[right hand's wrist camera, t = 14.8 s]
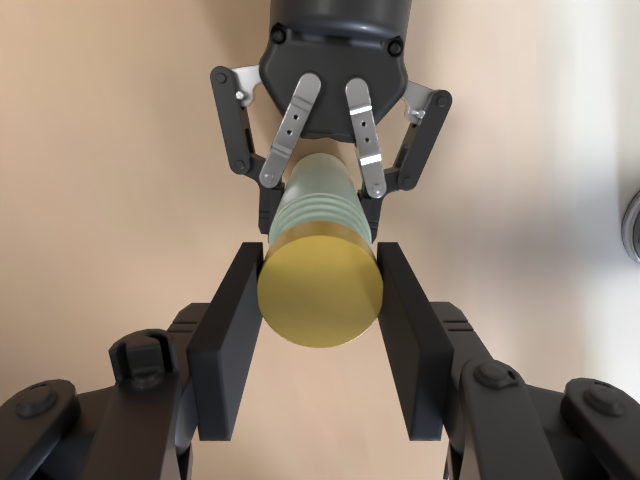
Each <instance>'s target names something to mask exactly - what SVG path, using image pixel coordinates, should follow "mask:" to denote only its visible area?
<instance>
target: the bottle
mask: <svg viewBox="0 0 640 480" xmlns="http://www.w3.org/2000/svg"><path fill="white" fill-rule="evenodd" d="M311 221H330V222H335V223H339V224H341V225H344V226H347V227H348V228H350V229H352V230H354V231H355V232H356V233H358V234H359V235H360V236H361V237H362V238H363V239H364V240H365V241H366V242H367V243H368V245H369V246H370V248H371V240H372V239H371V231H370V227H369V224H368V222H367V219H366V217H365V214H364V211H363V209H362V206H361V204H360V201H359V198H358V196H357V193H356V191H355V188H354V186H353V183H352V180H351V178H350V175H349V173H348V170H347V168H346V167H345V165H344V164H343V163H342V162H341V161H340V160H339V159H338V158H336V157H335V156H332V155H330V154H326V153H314V154H310V155H308V156H306V157H304V158H302V159H301V160H300V161H299V162H298V163H297V164H296V165H295V167H294V168H293V170H292V173H291V175H290V178H289V180H288V183H287V186H286V188H285V191H284V194H283V196H282V199H281V201H280V204H279V207H278V209H277V212H276V214H275V217H274V220H273V222H272V225H271V228H270V232H269V248H270V246H271V245H272V244H273V242H274V241H275V240H276V239H277V238H278V237H279V236H280V235H281V234H283V233H284V232H285V231H287V230H288V229H290V228H292V227H294V226H296V225H299V224H302V223H306V222H311Z"/></svg>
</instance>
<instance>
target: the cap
mask: <svg viewBox="0 0 640 480" xmlns="http://www.w3.org/2000/svg"><path fill="white" fill-rule="evenodd" d="M257 293H258V306H259V309H260V312H261V314H262V316H263V317H264V319H265V321H266V322H267V323H268V325H269V326H270V327H271V328H272V329H273V330H274V331H275V332H276V333H277V334H279V335H280V336H281V337H283V338H285V339H286V340H288V341H290V342H293V343H295V344H298V345H301V346H305V347H311V348H329V347H335V346H339V345H342V344H345V343H348V342H350V341H352V340H354V339H356V338H357V337H359V336H360V335H362V334H363V333H364V332H365V331H366V330H367V329H368V328H369V327H370V326H371V325H372V324H373V322H374V321H375V320H376V318H377V316H378V314H379V312H380V310H381V307H382V297H383V280H382V276H381V273H380V270H379V267H378V264H377V261H376V258H375V256H374V253H373V251H372V249H371V248H370V246H369V245H368V243H367V242H366V241H365V240H364V239H363V238H362V237H361V236H360V235H359V234H358V233H356V232H355V231H354V230H352V229H350V228H348V227H347V226H344V225H341V224H339V223H335V222H330V221H311V222H306V223H302V224H299V225H296V226H294V227H292V228H290V229H288V230H287V231H285V232H284V233H283V234H281V235H280V236H279V237H278V238H277V239H276V240H275V241H274V242H273V244H272V245H271V246H270V248H269V250H268V252H267V254H266V257H265V259H264V262H263V265H262V268H261V271H260V274H259V277H258V281H257Z"/></svg>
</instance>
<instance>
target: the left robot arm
mask: <svg viewBox="0 0 640 480" xmlns="http://www.w3.org/2000/svg"><path fill="white" fill-rule="evenodd" d="M411 1H412V0H271V6H270V30H269V41H268V45H267V48H266V50H265V52H264V54H263V56H262V57H261V59H260V62H259V65H253V66H247V67H240V68H234V69H229V68H226V67H223V66H217V67H215V68H214V69H213V70H212V72H211V75H210V79H211V84H212V88H213V93H214V97H215V102H216V106H217V111H218V115H219V120H220V124H221V129H222V133H223V138H224V142H225V147H226V151H227V156H228V160H229V164H230V168H231V170H232V171H233V172H234V173H236V174H243V175H246V176H248V177H250V178H252V179H254V180H255V181H256V182H257V183H258V185H259V188H260V200H259V225H258V226H259V229H260V232H261V234H268V243H269V232H270V228H271V225H272V222H273V220H274V217H275V214H276V212H277V209H278V207H279V204H280V201H281V199H282V196H283V194H284V187H285V183H283V182H282V174H283V172H284V170H285V167H286V165H287V163H288V161H289V158H290V156H291V154H292V152H293V150H294V148H295V145H296V143H297V141H298V139H299V136H301V138H306V139H319V138H324V137H329V138H332V139H334V140H337V141H340V142H346V143H353V144H354V148H355V152H356V156H357V159H358V164H359V168H360V172H361V177H362V181H363V182H362V189H361V190H358V193H357V196H358V198H359V201H360V204H361V206H362V209H363V211H364V214H365V217H366V219H367V222H368V224H369V227H370V231H371V239H372V240H371V244H372V243H373V242H374V240H375V238H376V236H377V230H378V222H379V217H380V211H381V205H382V200H383V198H384V197H385V196H386V195H387V194H388V193H390V192H394V191H398V190H404V191H409V190H412V189H413V188H414V187H415V186H416V184H417V182H418V180H419V177H420V175H421V173H422V171H423V168H424V166H425V164H426V161H427V159H428V157H429V155H430V152H431V150H432V148H433V145H434V143H435V141H436V139H437V136H438V134H439V132H440V130H441V127H442V125H443V123H444V120H445V118H446V116H447V114H448V111H449V109H450V107H451V104H452V96H451V94H450V93H449V92H448V91H446V90H432V89H429V88H427V87H424V86H421V85H419V84H416V83H414V82H411V81H408V75H407V71H406V69H405V65H404V57H403V54H404V46H405V39H406V33H407V27H408V20H409V14H410V7H411ZM261 83H263V85H264V87H265V88H266V90H267V92H268V93H269V95H270V97H271V98H272V100H273V102H274V104H275V105H276V107H277V109H278V110H279V112H280V114H281V115H282V117H283V120H282V122H281V125H280V127H279V129H278V132H277V134H276V136H275V139H274V141H273V143H272V146H271V149H270V152H269V154H268V156H267V159H265V158H263V157H261V156H259V155H257V154H255V149H254V144H253V139H252V134H251V129H250V123H249V118H248V113H247V108H246V106H249V105H251V104H252V103H253V102H254V100H255V90H256V87H257V86H258V85H259V84H261ZM400 98H402V99H403V100H404V102H405V105H406V108H405V113H404V115H405V118H406V120H407V121H408V122H410V126H409V128H408V130H407V133H406V135H405V138H404V140H403V143H402V145H401V148H400V150H399V152H398V155H397V157H396V160H395V162H394V165H393V167H392V168H388V169H384V170H383V167H382V162H381V152H380V147H379V142H378V137H377V133H376V128H375V126H376V125H377V124H378V123H379V122H380V121H381V119H382V118H383V117H384V116H385V115H386V114H387V113H388V112H389V110H390V109H391V108H392V107H393V106H394V105H395V104H396V103H397V102H398V100H399V99H400ZM622 239H623V244H624V247H625V249H626V251H627V252H628V254H629V255H630V256H631V257H632V258H633V259H634V260H635V261H636V262H638V263H639V264H640V192H639V193H638V194H637V195H636V197H635V198H634V199H633V201H632V202H631V204H630V206H629V208H628V210H627V212H626V215H625V217H624V221H623V226H622Z"/></svg>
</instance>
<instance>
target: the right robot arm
mask: <svg viewBox="0 0 640 480" xmlns="http://www.w3.org/2000/svg"><path fill="white" fill-rule="evenodd" d="M263 262H264V259H263V242H243V243H242V245H241V247H240V249H239V251H238V253H237V254H236V256H235V258H234V260H233V262H232V264H231V266H230V267H229V269H228V271H227V273H226V275H225V277H224V279H223V281H222V282H221V284H220V286H219V288H218V290H217V292H216V294H215V295H214V297H213V299H212V301H211V303H191V304H190V305H188V306H187V307H185V308H184V309H183V310H181V311H180V312H179V313H178V315H177V316H176V318H175V319H174V321H173V324H171V325H170V327H169V328H168V330H167V331H165V330H162V329H146V330H141V331H136V332H134V333H131V334H129V335H126V336H124V337H123V338H121V339H120V340H118V341H117V342H115V343H114V344H113V345H112V347H111V348H110V349H109V350H108V351H109V355H110V359H111V363H112V367H113V372H114V376H115V380H116V383H115V385H114V386H111V387H108V388H105V389H100V390H96V391H91V392H87V393H82V394H78V395H77V393H76V389H75V386H74V385H73V384H72V383H71V382H70V381H66V380H61V379H57V380H48V381H44V382H40V383H37V384H35V385H32V386H30V387H28V388H26V389H24V390H22V391H20V392H18V393H17V394H15V395H14V396H13V397H11V398H10V399H9V400H7V401H6V402H5V403H4V404H3V405H2V406H1V407H0V480H191V473H192V463H193V452H192V445H191V440H192V437H193V435H194V432H195V429H196V427H197V426H198V433H199V439H200V441H230V440H231V436H232V432H233V429H234V425H235V421H236V417H237V413H238V409H239V406H240V402H241V398H242V394H243V390H244V387H245V383H246V379H247V375H248V371H249V367H250V364H251V360H252V356H253V352H254V348H255V345H256V341H257V337H258V333H259V329H260V325H261V322H262V318H263V316H262V314H261V312H260V309H259V306H258V293H257V281H258V277H259V274H260V271H261V268H262V265H263ZM377 264H378V267H379V270H380V273H381V276H382V280H383V297H382V307H381V310H380V312H379V314H378V316H377V317H378V321H379V325H380V328H381V332H382V336H383V340H384V344H385V347H386V351H387V355H388V359H389V363H390V367H391V370H392V374H393V378H394V382H395V386H396V389H397V393H398V397H399V401H400V405H401V409H402V412H403V416H404V420H405V424H406V428H407V431H408V435H409V439H410V441H441V434H442V428H443V424H444V427H445V429H446V432H447V435H448V437H449V445H448V451H447V457H446V463H445V469H444V476H443V479H446V480H448V477H449V480H640V404H639V403H638V402H637V401H635V400H634V399H633V398H632V397H630V396H629V395H628V394H626V393H625V392H624V391H622V390H620V389H618V388H616V387H614V386H612V385H610V384H608V383H605V382H602V381H599V380H595V379H588V378H577V379H572V380H571V381H569V382H568V383H567V384H566V387H565V390H564V393H560V392H556V391H551V390H547V389H542V388H538V387H534V386H531V385H527V384H525V382H524V380H523V379H522V377H521V376H520V374H519V373H518V372H517V371H515V370H514V369H513V368H512V367H510V366H509V365H506V364H504V363H502V362H500V361H498V360H494V359H493V358H492V356H491V355H490V353H489V352H488V350H487V349H486V347H485V346H484V344H483V343H482V341H481V340H480V338H479V337H478V335H477V334H476V332H475V331H474V329H473V328H472V326H471V325H470V323H468V320H467V319H466V317H465V316H464V314H463V313H462V311H461V310H460V309H458V308H457V307H455V306H454V305H453V304H451V303H450V302H429V301H428V299H427V297H426V295H425V293H424V291H423V289H422V288H421V286H420V284H419V282H418V280H417V278H416V276H415V274H414V273H413V271H412V269H411V267H410V265H409V263H408V261H407V260H406V258H405V256H404V254H403V252H402V250H401V248H400V246H399V245H398V243H397V242H378V246H377Z"/></svg>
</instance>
